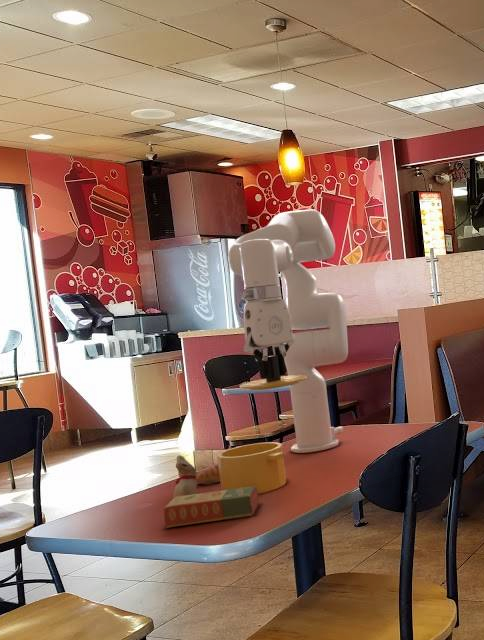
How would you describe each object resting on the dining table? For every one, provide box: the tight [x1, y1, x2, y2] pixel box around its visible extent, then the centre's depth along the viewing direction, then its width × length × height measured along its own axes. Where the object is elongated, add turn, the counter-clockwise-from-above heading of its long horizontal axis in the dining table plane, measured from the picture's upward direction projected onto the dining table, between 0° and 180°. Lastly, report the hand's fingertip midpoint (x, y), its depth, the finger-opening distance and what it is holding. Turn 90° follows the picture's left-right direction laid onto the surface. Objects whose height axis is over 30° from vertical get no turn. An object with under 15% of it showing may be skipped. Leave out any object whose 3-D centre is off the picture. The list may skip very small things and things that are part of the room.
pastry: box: [196, 463, 220, 485], centre depth 176 cm, size 9×7×4 cm
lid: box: [239, 354, 307, 391], centre depth 166 cm, size 15×15×7 cm
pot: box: [216, 441, 287, 495], centre depth 165 cm, size 14×19×8 cm
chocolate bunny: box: [172, 454, 198, 499], centre depth 161 cm, size 6×8×10 cm
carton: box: [163, 486, 260, 529], centre depth 145 cm, size 8×16×4 cm, turn 98°
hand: (273, 376), depth 166 cm, fingers closed on lid, 3 cm apart
